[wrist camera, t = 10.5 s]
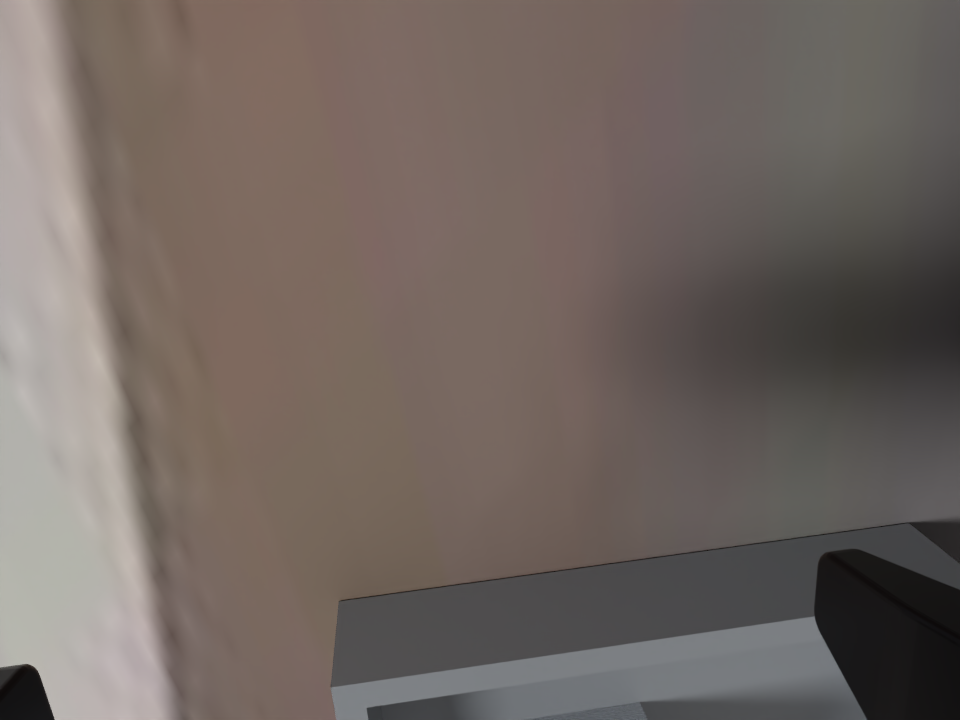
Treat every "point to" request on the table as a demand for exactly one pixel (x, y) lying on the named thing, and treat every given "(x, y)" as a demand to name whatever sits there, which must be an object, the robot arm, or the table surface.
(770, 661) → the tray
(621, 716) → the steel block
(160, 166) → the table surface
